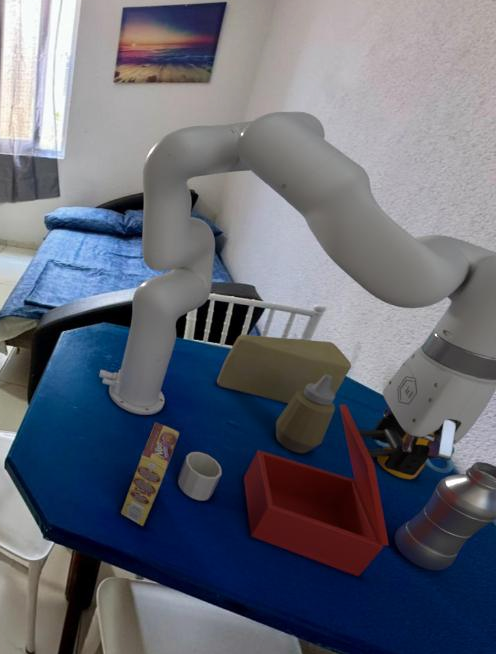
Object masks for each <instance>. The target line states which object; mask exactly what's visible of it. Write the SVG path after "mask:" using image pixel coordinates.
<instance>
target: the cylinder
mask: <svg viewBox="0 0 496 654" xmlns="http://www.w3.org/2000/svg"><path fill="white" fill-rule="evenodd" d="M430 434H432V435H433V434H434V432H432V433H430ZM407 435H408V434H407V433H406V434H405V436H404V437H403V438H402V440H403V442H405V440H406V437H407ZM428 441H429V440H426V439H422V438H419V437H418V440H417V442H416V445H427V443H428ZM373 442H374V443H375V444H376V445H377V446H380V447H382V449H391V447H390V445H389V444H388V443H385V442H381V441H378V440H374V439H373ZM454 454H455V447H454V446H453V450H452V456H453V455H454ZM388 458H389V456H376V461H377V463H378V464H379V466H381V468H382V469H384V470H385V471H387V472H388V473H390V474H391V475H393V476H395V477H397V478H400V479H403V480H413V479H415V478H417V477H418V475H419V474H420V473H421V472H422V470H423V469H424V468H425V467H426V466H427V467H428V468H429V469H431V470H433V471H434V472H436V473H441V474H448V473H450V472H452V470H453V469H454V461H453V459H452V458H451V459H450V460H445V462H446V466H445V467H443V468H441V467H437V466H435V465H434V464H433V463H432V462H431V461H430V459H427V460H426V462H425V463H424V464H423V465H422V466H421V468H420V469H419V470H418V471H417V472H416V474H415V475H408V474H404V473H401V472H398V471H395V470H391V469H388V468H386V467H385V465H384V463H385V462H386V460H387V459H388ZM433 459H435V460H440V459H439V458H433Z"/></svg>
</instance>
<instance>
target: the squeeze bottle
mask: <svg viewBox="0 0 496 654" xmlns="http://www.w3.org/2000/svg"><path fill="white" fill-rule="evenodd" d="M332 378H333V377H332V376H331V375H328V374H326V375H324V376H323V377H322V378H321V379H320V380H319V381H318V382H317V383H316V384H308V385H307V386H306V388H305V390H301V391H298V392H296V394H295V395H294V397H293V398H292V399H291V401H290V402H289V404H288V403H287V405H286V406H285V408H284V410H282V412H281V413H280V415H279V416H278V418H277V419H276V421H275V437H276V440H277V441H278V443H279V444H280V445H282V446H283V447H284V448H285V449H287V450H289V451H290V452H293V453H296V454H306V453H308V452H310V451H312V450H313V449H315V448H316V447H318V446H320V445H321V444H322V443H323V441H324V437H325V435H326V432H327V430H328V428H329V425H330V423H331V420H332V418H333V415H334V413H335V410H336V405H334V403H333V402H334V400H335V398H336V394H335V395H334V393H333V392H332V391H331V390H330V388H331V383H332Z"/></svg>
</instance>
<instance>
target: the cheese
mask: <svg viewBox="0 0 496 654" xmlns="http://www.w3.org/2000/svg"><path fill="white" fill-rule="evenodd" d="M351 368H352V364H351V361H350V360H349V359H348V358H347V356H345V354H344V353H343V352H342V351H341V349H340V348H339V347H338V346H337V345H336V344H334V343H333V342H331V341H324V340H323V341H321V340H312V339H301V338H288V337H275V336H274V337H273V336H262V335H255V334H254V335H253V334H240V335H239V336H238V337H237V338H236V340H235V341H234V343H233V345H232V347H231V348H230V350H229V352H228V354H227V355H226V358H225V359H224V361H223V364H222V366H221V369H220V372H219V374H218V377H217V379H216V383H217V385H218V386H219V387H220V388H224V389H228V390H232V391H238V392H241V393H245V394H248V395H253V396H256V397H261V398H264V399H270V400H273V401H277V402H281V403H284V404H287V405H288V404H289V402H290V401H291V399H292V398H293V397H294V395H295V394H296V392H298V391H301V390H305V388H306V386H307V385H308V384H316V383H317V382H318V381H319V380H320V379H321V378H322V377H323V376H324V375H326V374H328V375H331V376H332V377H333V378H332V383H331V388H330V390H331V391H332V392H333V393H334V395H335V396H336V394H337V392H338V390H339V389H340V387H341V385H342V383H343V382H344V380H345V378H346V377H347V375H348V373H349V371H350V370H351Z"/></svg>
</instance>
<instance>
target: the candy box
mask: <svg viewBox="0 0 496 654" xmlns="http://www.w3.org/2000/svg"><path fill="white" fill-rule="evenodd" d="M179 436H180V432H179V431H178V430H176V429H174V428H171V427H169V426H167V425H164V424H161V423H159V422H154V425H153V427H152V429H151V432H150V434H149V438H148V439H147V442H146V444H145V447H144V449H143V452H142V453H141V456H140V459H139V461H138V464H137V467H136V470H135V472H134V475H133V478H132V481H131V484H130V486H129V489H128V492H127V495H126V498H125V501H124V503H123V506H122V509H121V511H120V514H121V515H122V516H124V517H126V518H128V519H129V520H131V521H133V522H134V523H136V524H137V525H139V526H141V527H144V525H145V523H146V521H147V518H148V516H149V513H150V512H151V509H152V506H153V504H154V502H155V499H156V497H157V494H158V493H159V490H160V487H161V485H162V483H163V480H164V477H165V476H166V471H167V470H168V467H169V464H170V462H171V459H172V456H173V453H174V450H175V447H176V444H177V441H178V439H179Z"/></svg>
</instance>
